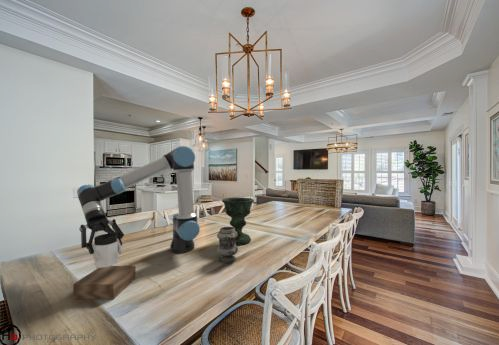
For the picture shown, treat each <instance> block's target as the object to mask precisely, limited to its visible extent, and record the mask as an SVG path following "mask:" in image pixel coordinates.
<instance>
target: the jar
mask: <svg viewBox="0 0 499 345" xmlns="http://www.w3.org/2000/svg"><path fill="white" fill-rule="evenodd" d="M93 242H94V243H93V244H95V247H96V250H97V253H98V256H99V259H98V261H96V262H95V260H93V264H94V267H95V268H96V269H97V268H104V267H109V266H115V264H116V265H117V264H118V262H119V261H118V259H119V257H118V256H119V253H118V242H117V234H108V233H105V234H100V235H99V234H98V235H96V236H94V239H93Z"/></svg>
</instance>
